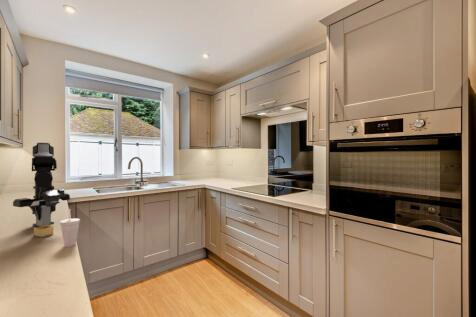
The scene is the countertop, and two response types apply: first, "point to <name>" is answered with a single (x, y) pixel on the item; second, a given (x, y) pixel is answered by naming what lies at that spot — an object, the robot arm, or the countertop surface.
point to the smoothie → (69, 230)
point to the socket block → (43, 231)
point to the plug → (44, 216)
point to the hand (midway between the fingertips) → (43, 219)
